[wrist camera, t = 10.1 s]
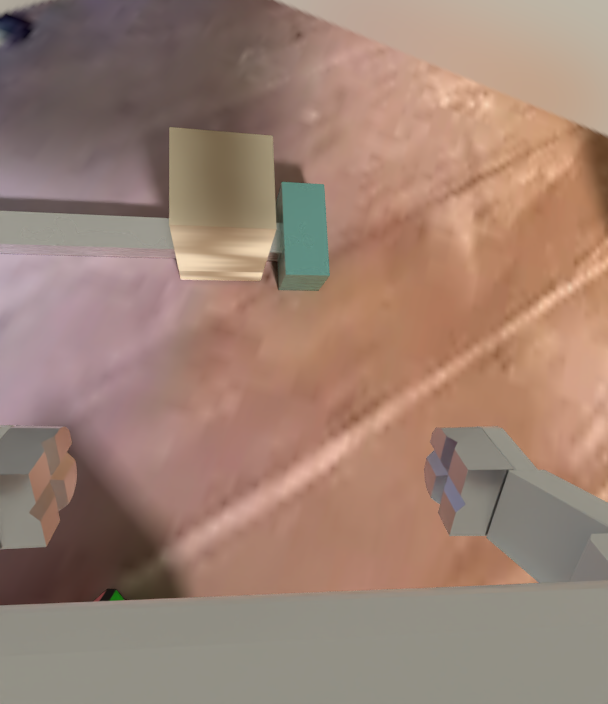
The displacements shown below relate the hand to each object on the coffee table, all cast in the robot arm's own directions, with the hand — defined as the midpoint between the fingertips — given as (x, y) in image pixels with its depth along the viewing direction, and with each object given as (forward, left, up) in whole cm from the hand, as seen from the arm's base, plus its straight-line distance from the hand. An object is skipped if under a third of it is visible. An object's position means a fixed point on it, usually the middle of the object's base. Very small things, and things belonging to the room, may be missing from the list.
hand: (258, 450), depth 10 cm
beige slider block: (0, -12, -18) cm, 22 cm away
